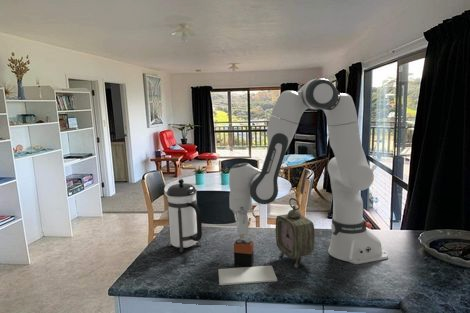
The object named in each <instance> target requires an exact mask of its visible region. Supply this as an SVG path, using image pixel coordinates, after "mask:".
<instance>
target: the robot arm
mask: <svg viewBox="0 0 470 313" xmlns="http://www.w3.org/2000/svg"><path fill="white" fill-rule="evenodd" d="M308 109H309V110H322V111H323V112H324V114H325V117H326V123H327V124H326V125H327V132H328V138H329V146H330V148H331V149H332V152H333V155H334V157H332V158H331V159H330V160H329V162H328V163H327V172H328V175H329V179H330V189H331V192H332V205H333V206H332V218H331V224H330V225H331V226H330V227H331V238H330V239H331V240H330V244H329V246H328V250H327V253H328V254H329V256H331V257H333V258H335V259H337V260H341V261H344V262H349V263H351V264H354V265H359V264H360V265H361V264H366V263H372V262H377V261H382V260H386V259H389V254H388V252H387V251H386V249H384V248H383V247H382V242H381V240H380V239H379V237H377V236H376V235H375V234H374V233H372V232H371V231H370V230H369V229H371V228H372V223H370V222H367V221H366V220H364V219H363V215H364V214H363V210H364V202H363V198H362V196H361V193H360V191H366V190H367V189H368V188H370V187H371V186H372V184H373V182H374V177H375V175H374V172H373V170H372V168H371V167H370V165H369V163H368V159H367V157H366V154H365V151H364V149H363V145H362V141H361V134H360V127H359V121H358V114H357V110H356V106H355V103H354V100H353V97H352V96H351V95H350V94H349V93H343V92H342V93H341V92H340V91H339V90H338V89H337V88H336V86H335V84H334V83H333V82H332V81H330V80H329V79H327V78H314V79H311V80H309V81H307V82H305V83H303V84H302V85H301V86H300V87H299V88H298V89H297V90H284V91H282V92H281V93H280V94H279V95H278V97H277V100H276V101H275V103H274V105H273V108H272V110H271V113H270V116H269V120H268V124H267V129H266V137H267V151H266V155H265V158H264V161H263V164H262V167H261V169H259V168H257V167H254V166H253V165H251V164H250V163H248V162H240V163H236V164H234V165H233V166H231V168H230V170H229V173H228V175H229V176H228V187H229V195H228V196H229V209H230V211H232V213H233V214H234V219H235V224H236V228H237V231H238V239H244V238H245V236H248V235H249V216H248V215H249V212H250V210H252V208H253V201H254V202H255V203H257V204H260V205H269V204H271V203H272V202H274V201H275V200H276V199H277V197H278V195H279V185H278V178H279V174H280V171H281V167H282V165H283V161H284V159H285V156H286V152H287V150H288V148H289V147H290V144H291V142H292V140H293V139H294V136H295V133H296V132H297V129H298V127H299V123H300V121H301V117H302V116H303V113H304V112H305V111H306V110H308Z"/></svg>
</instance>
